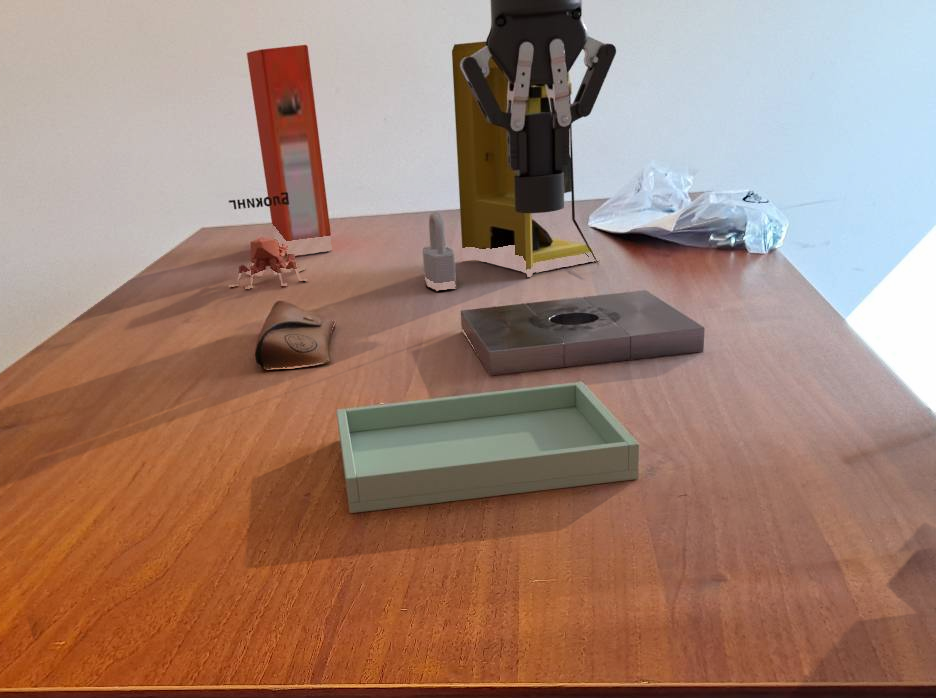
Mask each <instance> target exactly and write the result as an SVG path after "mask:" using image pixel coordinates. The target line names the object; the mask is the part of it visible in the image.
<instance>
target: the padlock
mask: <svg viewBox="0 0 936 698" xmlns="http://www.w3.org/2000/svg"><path fill="white" fill-rule="evenodd" d="M428 227H429V228H428V229H429V230H428V231H429V245H430V246H428V247H426V246H424V247H422V258H423V259H422V260H423V274H424V273H425V276H424V278H425V277H426V278H427V279H429V280H430V281H433V282H434V283H443V282H450V281H456V282H457V277H456V276H457V275H456V260H455V259H456V258H455V252H454V250H453V249H452V248H450V247H448V246H446V234H445V225H444V219H443V217H442V215H441V214H440V213H439V212H437V211H433V212H432V213H430V215H429V218H428Z"/></svg>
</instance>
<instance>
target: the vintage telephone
mask: <svg viewBox="0 0 936 698" xmlns="http://www.w3.org/2000/svg"><path fill="white" fill-rule="evenodd" d="M485 46H486V40H485V41H484V40H483V41H477V42H476V41H475V42H466V43H455V44H454V45H453V47H452V50H451V61H452V62H451V63H452V81H453V99H454V100H453V101H454V119H455V138H456V139H455V140H456V155H457V157H456V158H457V175H458V193H459V196H458V197H459V213H460V215H459V216H460V230H461V231H460V234H461V249H462V248H465V247H475V248H479V249H486V248H490V249H492V248H498V247H503V246H508V245H515V255H519V256H523V258H524V260H525V261H526V270H527V269H531V268H532V267H533V263H536V262H540V261H546V260H551V259H552V260H553V259H556V258H562V257H567V256H573V255H574V256H575V255H580V254H584V253H585V254H586V253H589V252H591V253H592V255H593V257H594V259H595V260H596V258H595V256H594V254H593V252H594V251H593V249H592V248H591V246H590V245H589V243H588V241H587V239H586V237H585V236H584V234H583V232H582V230H581V228H580V225H579V224H578V222H577V220H576V215H575V214H576V212H575V211H576V209H575V184H574V161H573V160H574V159H573V158H574V157H573V156H574V153H573V129H572V128H573V127H572V124H571V126H570V130H569V133H570V146H569V147H570V151H569V152H570V159H569V162H568V165H563V172H564V194H566V193H567V194H568V193H571V220H572V222H573V224H574V225H575V227H576V229H577V231H578V232H579V234H580V237H581V238H582V239H583V242H584V243H579V242H574V241H569V240H565V239H559V238H554V237H551V236H550V234H549V232H548V231H547V230H546V229H545V228H543V226H542V225H540V224H539V223H538V222H537V221H536V220H534V219H533V213H519V212H516V211H515V187H514V176H515V175H516V174H515V170H512V169H510V167H509V165H508V150H507V132H506V130H505V129H504V128H503V127H500V126H496V125H493V124H490V123H488V122H487V121H486V119H485V117H484V115H483V113H482V111H481V109H480V107H479V105H478V103H477V101H476V99H475V97H474V95H473V93H472V91H471V89H470V87H469V85H468V83H467V81H466V79H465V77H464V75H463V73H462V71H461V69H460V67H459V63H460V61H461V59H462V58H464V57H470V56H471V55H473V54H474V53H476V52H477V51H479V50H480V49H482V48H483V47H485ZM489 68H490V72H489V75H488V76H487V77H486V78H485V79H486V81H487V83H488V85H489V87H490V89H491V91H492V93H493V95H494V97H495V99H496V101H497V103H498V105H499V107H500V109H501V111H503V112H506V113H507V91H508V79H507V78H506V77H505V75H504V74H503V73H502V71H501V70H500V68H499V67H498V66H497V64H496V63H495V62H494V60H493V59H492V57H491V58H490V60H489ZM567 78H568V86H569V103H570V104H572V103H571V95H572V94H573V93H572V82H571V78H570V71H569V72H568V74H567ZM539 112H551V111H550V104H549V99H548V96H547V91H546V85H545V84H540V83H539V84H536V85H534V86H531V87H529V95H528V101H527V104H526V113H525V114H530V113H539ZM586 255H587V254H586ZM587 256H588V255H587ZM588 257H589V256H588ZM594 263H595V264H598V265H597V266H600V264H599V261H598V262H597V260H596V262H594Z"/></svg>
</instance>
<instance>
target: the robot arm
mask: <svg viewBox="0 0 936 698" xmlns="http://www.w3.org/2000/svg"><path fill="white" fill-rule="evenodd" d="M485 41H486V46H485V47H483V48H482V49H480V50H479V51H477V52H476V53H474V54H473V55H471V56H470V57H464V58H462V59H461V61H460V63H459V67H460V69H461V71H462V73H463V75H464V77H465V79H466V81H467V83H468V85H469V87H470V89H471V91H472V93H473V95H474V97H475V99H476V101H477V103H478V105H479V107H480V109H481V111H482V113H483V115H484V117H485V119H486V121H487V122H488V123H490V124H493V125H496V126H500V127H503V128H504V129H505V130H506V132H507V150H508V165H509V167H510V169H512V170H515V174H516V176H518V177H523V176H527V136H526V131H523V127H524V122H525V113H526V104H527V101H528V95H529V87H531V86H534V85H536V84H539V83H540V84H545V85H546V91H547V96H548V99H549V104H550V111H551V112H552V113H553V173H562V172H563V165H568V162H569V159H570V158H571V153H570V126H571V125H572V124H573V123H574V122H576V121H578V120H579V119H582V118H586V117H588V116H590V115H591V113H592V110H593V108H594V106H595V103H596V102H597V99H598V97H599V94H600V92H601V89H602V87H603V85H604V83H605V80H606V78H607V76H608V73H609V71H610V68H611V66H612V64H613V61H614V59H615V56H616V54H617V47H616V46H615V45H614V44H613V43H604V42H602V41H600V40H597V39H595V38H593V37H591V36H589V32H588V29H587V27H586V25H585V23H584V20H583V0H490V29H489V33H488V35H487V37H486V40H485ZM582 51H583V52H584V58H583V63H584V65H585V67H586V71H585V73H584V76H583V78H582V81H581V83H580V85H579V88H578V90H577V92H576V95H575V97H574V99H573V102H572V103H571V104H570V103H569V86H568V83H569V80H568V78H567V74H568V72H569V73H570V71H571V69H572V68H573V66H574V64H575V62H576V60H577V59H578V58H579V56H580V54H581V52H582ZM491 57H492V59H493V60H494V62H495V63H496V64H497V66H498V67H499V68H500V70H501V71H502V73H503V74H504V75H505V77H506V78H507V79H508V91H507V113H506V112H503V111H501V109H500V107H499V105H498V103H497V101H496V99H495V97H494V95H493V93H492V91H491V89H490V87H489V85H488V83H487V81H486V79H485V78H486V77H487V76H488V75H489V72H490V68H489V60H490V58H491Z"/></svg>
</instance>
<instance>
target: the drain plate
mask: <svg viewBox="0 0 936 698" xmlns="http://www.w3.org/2000/svg"><path fill="white" fill-rule="evenodd" d="M460 326H461V327H462V328H461V330H462V329H463V330H464V332H465V333H466V335H467V337H468V339H469V340H470V342H471V344H472V345H473V347H474V349H475V351H476V353H477V354H478V356H479V357H478V356H477V357H478V359H479V358H480V359H481V361H482V362H481V361H480V362H481V364H482V363H483V364H482V365H483V367H484V366H485V367H484V368H485V370H486V372H487V373H488V375H489V376H490V377H491V375H492V376H499V375H500V374H501V375H508V374H509V375H510V374H517V373H525V372H526V373H527V372H535V371H544V370H545V371H546V370H553V369H562V368H571V367H580V366H588V365H598V364H606V363H615V362H624V361H631V360H632V361H634V360H643V359H650V358H660V357H669V356H677V355H686V354H694V353H703V352H704V347H705V331H706V330H705V327H704V326H703V325H701V324H700V323H698V322H697V321H695V320H693V319H692V318H691V317H689V316H687V315H686V314H684V313H682V312H681V311H679V310H678V309H676V308H675V307H673V306H672V305H670V304H669V303H667V302H665V301H664V300H662V299H661V298H660V297H657V296H656V295H654V293H651V292H650V291H648V290H646V289H644V290H634V291H627V292H626V291H625V292H616V293H615V292H614V293H607V294H597V295H589V296H580V297H569V298H560V299H554V300H544V301H533V302H526V303H517V304H509V305H508V304H506V305H498V306H497V305H496V306H489V307H481V308H471V309H462V310H460ZM475 351H474V352H475ZM476 353H475V354H476ZM477 354H476V355H477ZM480 359H479V360H480Z"/></svg>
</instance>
